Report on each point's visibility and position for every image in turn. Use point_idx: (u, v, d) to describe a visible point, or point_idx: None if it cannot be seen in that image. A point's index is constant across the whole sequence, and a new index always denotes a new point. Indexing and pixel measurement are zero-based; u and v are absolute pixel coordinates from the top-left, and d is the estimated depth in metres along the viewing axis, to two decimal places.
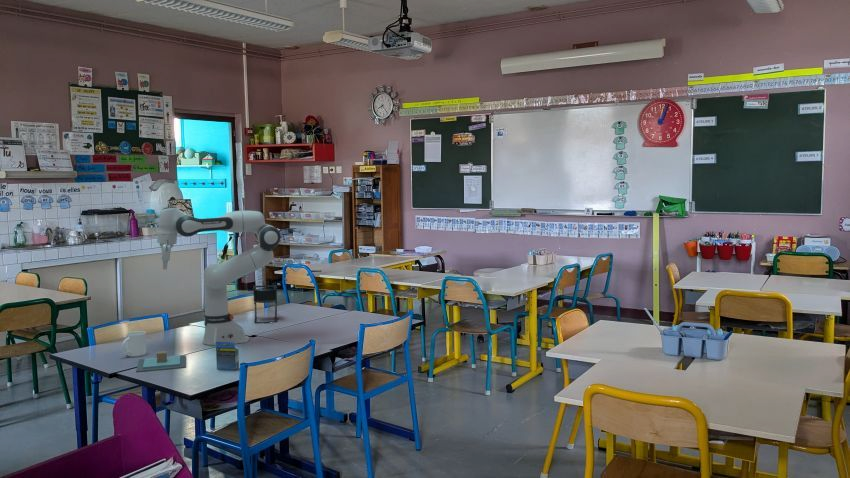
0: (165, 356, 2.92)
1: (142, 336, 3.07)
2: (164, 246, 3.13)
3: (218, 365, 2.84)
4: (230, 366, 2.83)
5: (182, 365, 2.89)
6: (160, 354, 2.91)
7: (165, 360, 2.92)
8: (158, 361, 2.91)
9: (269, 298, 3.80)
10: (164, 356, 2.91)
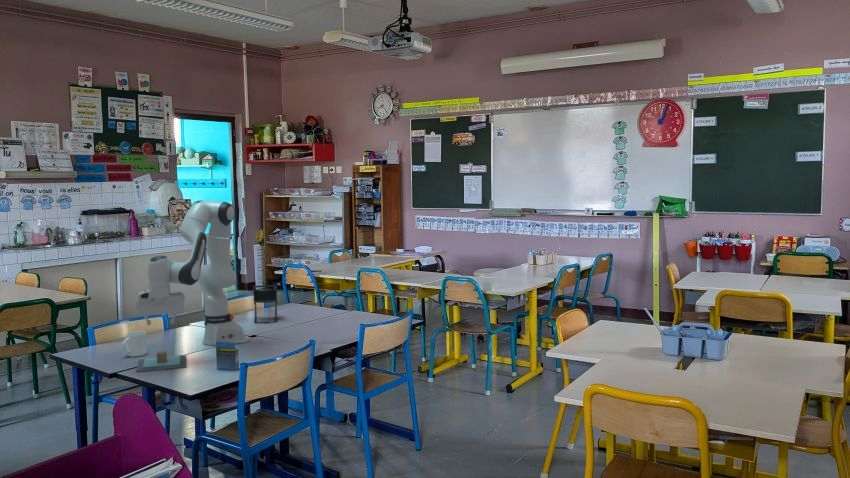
0: (165, 356, 2.92)
1: (142, 336, 3.07)
2: (181, 297, 2.93)
3: (218, 365, 2.84)
4: (230, 366, 2.83)
5: (182, 365, 2.89)
6: (160, 354, 2.91)
7: (165, 360, 2.92)
8: (158, 361, 2.91)
9: (269, 298, 3.80)
10: (164, 356, 2.91)
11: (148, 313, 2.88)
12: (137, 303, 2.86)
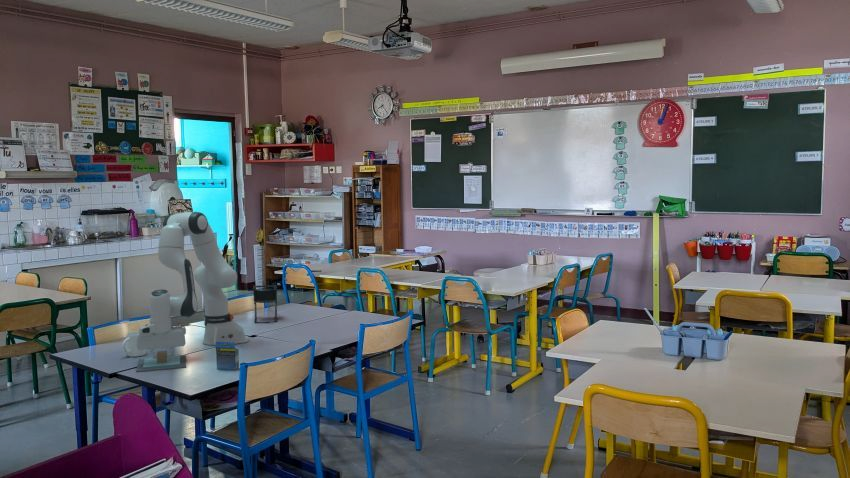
0: (165, 356, 2.92)
1: None
2: (182, 331, 2.94)
3: (218, 365, 2.84)
4: (230, 366, 2.83)
5: (182, 365, 2.89)
6: (160, 354, 2.91)
7: (165, 360, 2.92)
8: (158, 361, 2.91)
9: (269, 298, 3.80)
10: (164, 356, 2.91)
11: (149, 347, 2.89)
12: (138, 338, 2.87)
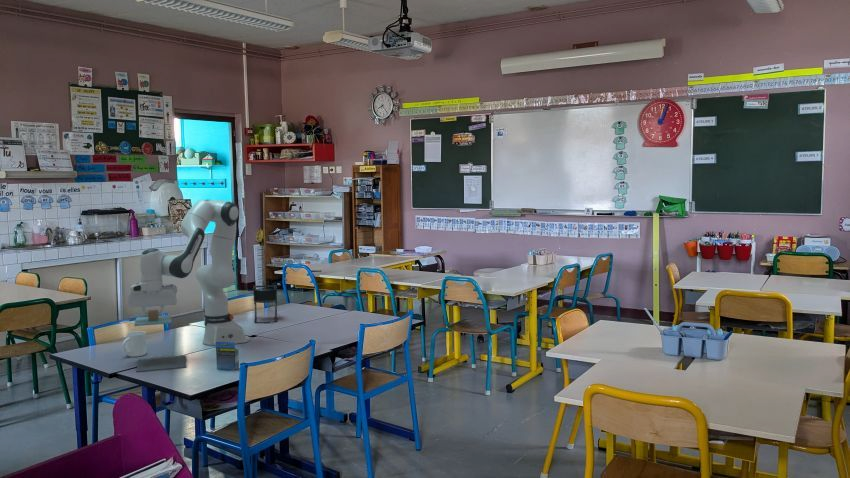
0: (156, 314, 2.94)
1: (142, 336, 3.07)
2: (173, 289, 2.96)
3: (218, 365, 2.84)
4: (230, 366, 2.83)
5: (182, 365, 2.89)
6: (151, 312, 2.93)
7: (156, 318, 2.94)
8: (149, 319, 2.93)
9: (269, 298, 3.80)
10: (155, 315, 2.94)
11: (141, 305, 2.91)
12: (130, 296, 2.89)
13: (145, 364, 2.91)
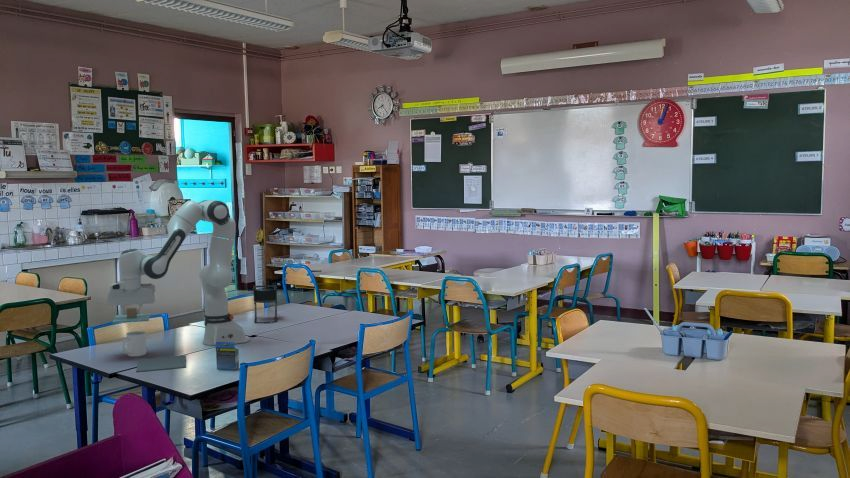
0: (135, 312, 3.04)
1: (142, 336, 3.07)
2: (151, 288, 3.07)
3: (218, 365, 2.84)
4: (230, 366, 2.83)
5: (182, 365, 2.89)
6: (130, 310, 3.04)
7: (135, 316, 3.04)
8: (128, 317, 3.04)
9: (269, 298, 3.80)
10: (134, 313, 3.04)
11: (120, 303, 3.02)
12: (109, 294, 3.00)
13: (145, 364, 2.91)
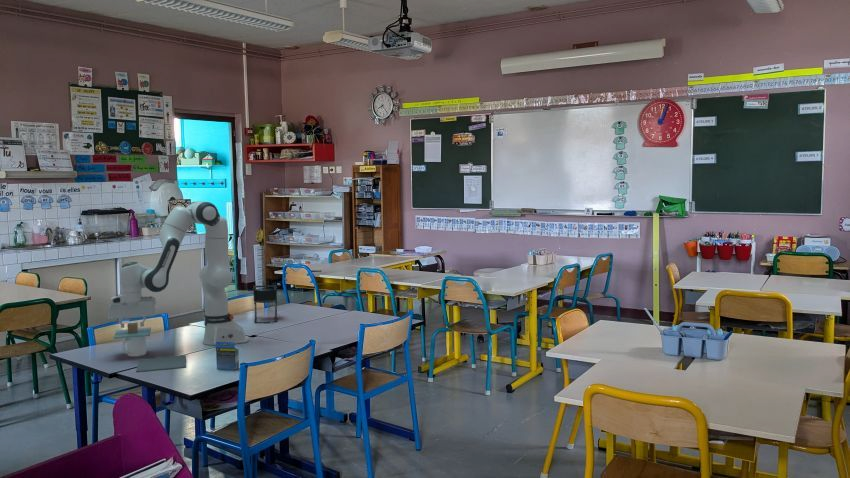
0: (136, 327, 3.05)
1: None
2: (152, 301, 3.08)
3: (218, 365, 2.84)
4: (230, 366, 2.83)
5: (182, 365, 2.89)
6: (131, 325, 3.04)
7: (136, 331, 3.05)
8: (129, 332, 3.04)
9: (269, 298, 3.80)
10: (135, 328, 3.05)
11: (120, 317, 3.03)
12: (109, 307, 3.00)
13: (145, 364, 2.91)
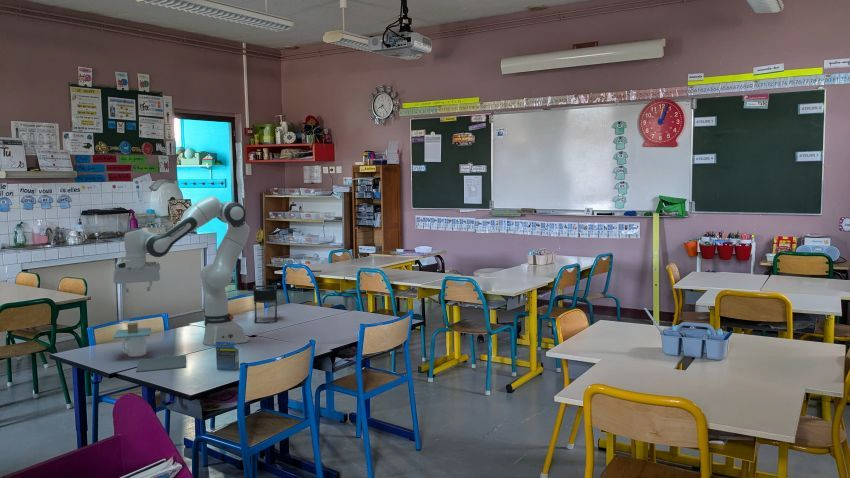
0: (136, 327, 3.05)
1: None
2: (156, 266, 3.13)
3: (218, 365, 2.84)
4: (230, 366, 2.83)
5: (182, 365, 2.89)
6: (131, 325, 3.04)
7: (136, 331, 3.05)
8: (129, 332, 3.04)
9: (269, 298, 3.80)
10: (135, 328, 3.05)
11: (126, 282, 3.09)
12: (115, 272, 3.06)
13: (145, 364, 2.91)
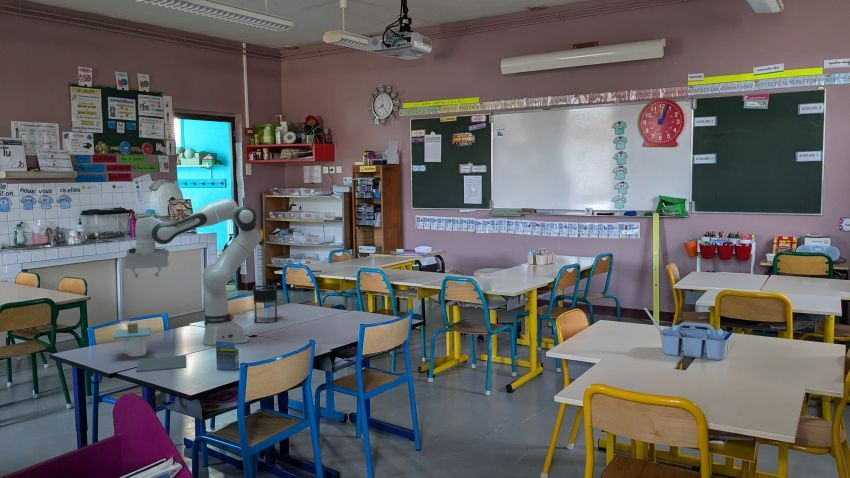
0: (136, 327, 3.05)
1: None
2: (165, 253, 3.26)
3: (218, 365, 2.84)
4: (230, 366, 2.83)
5: (182, 365, 2.89)
6: (131, 325, 3.04)
7: (136, 331, 3.05)
8: (129, 332, 3.04)
9: (269, 298, 3.80)
10: (135, 328, 3.05)
11: (135, 267, 3.21)
12: (125, 257, 3.18)
13: (145, 364, 2.91)
